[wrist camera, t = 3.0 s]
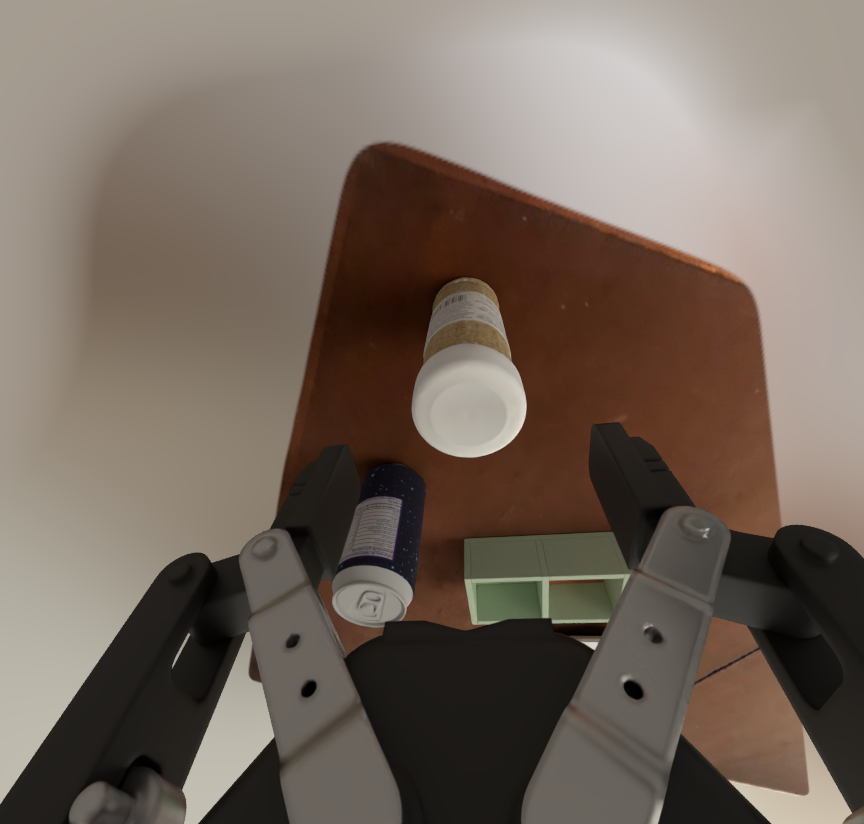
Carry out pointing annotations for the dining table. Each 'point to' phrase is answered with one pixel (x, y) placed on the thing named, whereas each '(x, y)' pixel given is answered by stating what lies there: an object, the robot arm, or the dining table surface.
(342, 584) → the beverage can
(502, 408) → the spice jar
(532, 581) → the tray
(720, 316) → the dining table surface
